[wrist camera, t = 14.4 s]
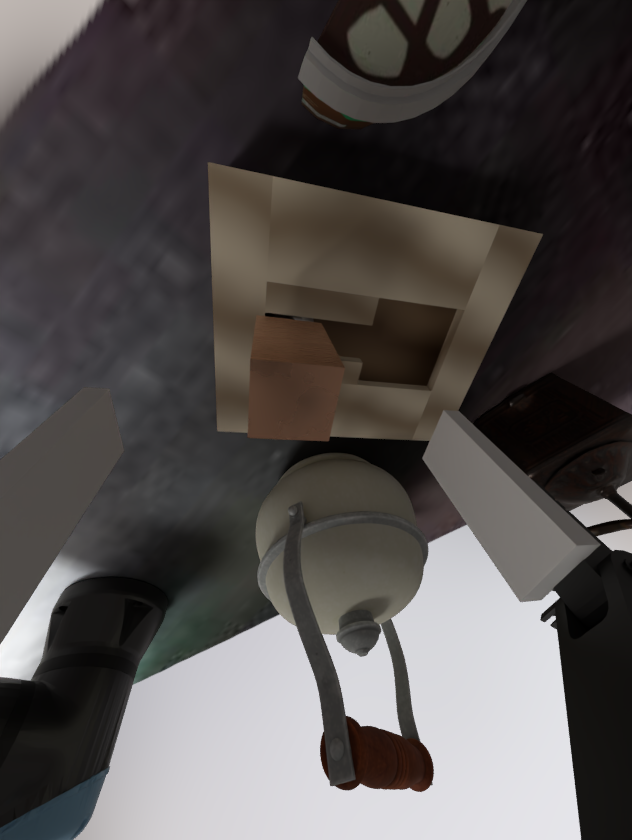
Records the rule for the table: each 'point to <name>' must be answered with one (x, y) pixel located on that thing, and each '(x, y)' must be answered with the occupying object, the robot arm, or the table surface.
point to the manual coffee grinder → (566, 444)
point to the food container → (398, 57)
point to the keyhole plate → (359, 295)
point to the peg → (292, 379)
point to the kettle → (347, 599)
